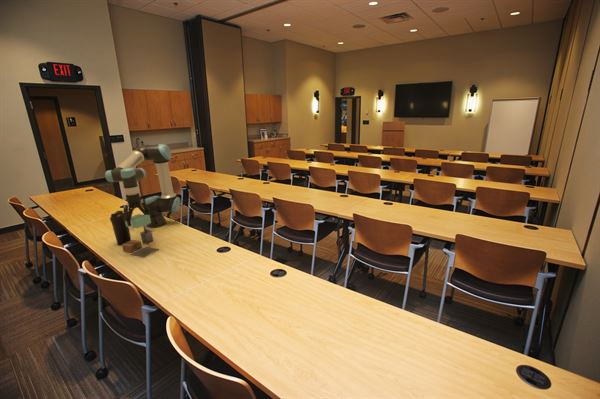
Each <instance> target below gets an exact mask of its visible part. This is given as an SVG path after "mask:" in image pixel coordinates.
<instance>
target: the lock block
mask: <svg viewBox="0 0 600 399" xmlns="http://www.w3.org/2000/svg"><path fill="white" fill-rule="evenodd" d="M140 239H141V244H142V245H143V244H144V245H149V244H152V243H154V237H153V231H152V232H150V231H146V232H144V230H143V231H141V232H140Z"/></svg>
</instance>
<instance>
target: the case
mask: <svg viewBox="0 0 600 399" xmlns="http://www.w3.org/2000/svg"><path fill="white" fill-rule="evenodd" d="M121 246H122V247H121V248H122V252H124V253H128V254H132V253H134V252H136V251H138V250H140V249H142V248H143V243H142V240H137V239H136V240H135V239H131V241H129V242H126V243H124V244H122V245H121Z"/></svg>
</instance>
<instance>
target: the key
mask: <svg viewBox="0 0 600 399" xmlns="http://www.w3.org/2000/svg"><path fill="white" fill-rule="evenodd" d="M148 215H149V214H148ZM142 227H143V231H144V232H146V231H150V232H152V233H153V232H154V231H155V229H154V228H149V227H146V225H145V226H142Z"/></svg>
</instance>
